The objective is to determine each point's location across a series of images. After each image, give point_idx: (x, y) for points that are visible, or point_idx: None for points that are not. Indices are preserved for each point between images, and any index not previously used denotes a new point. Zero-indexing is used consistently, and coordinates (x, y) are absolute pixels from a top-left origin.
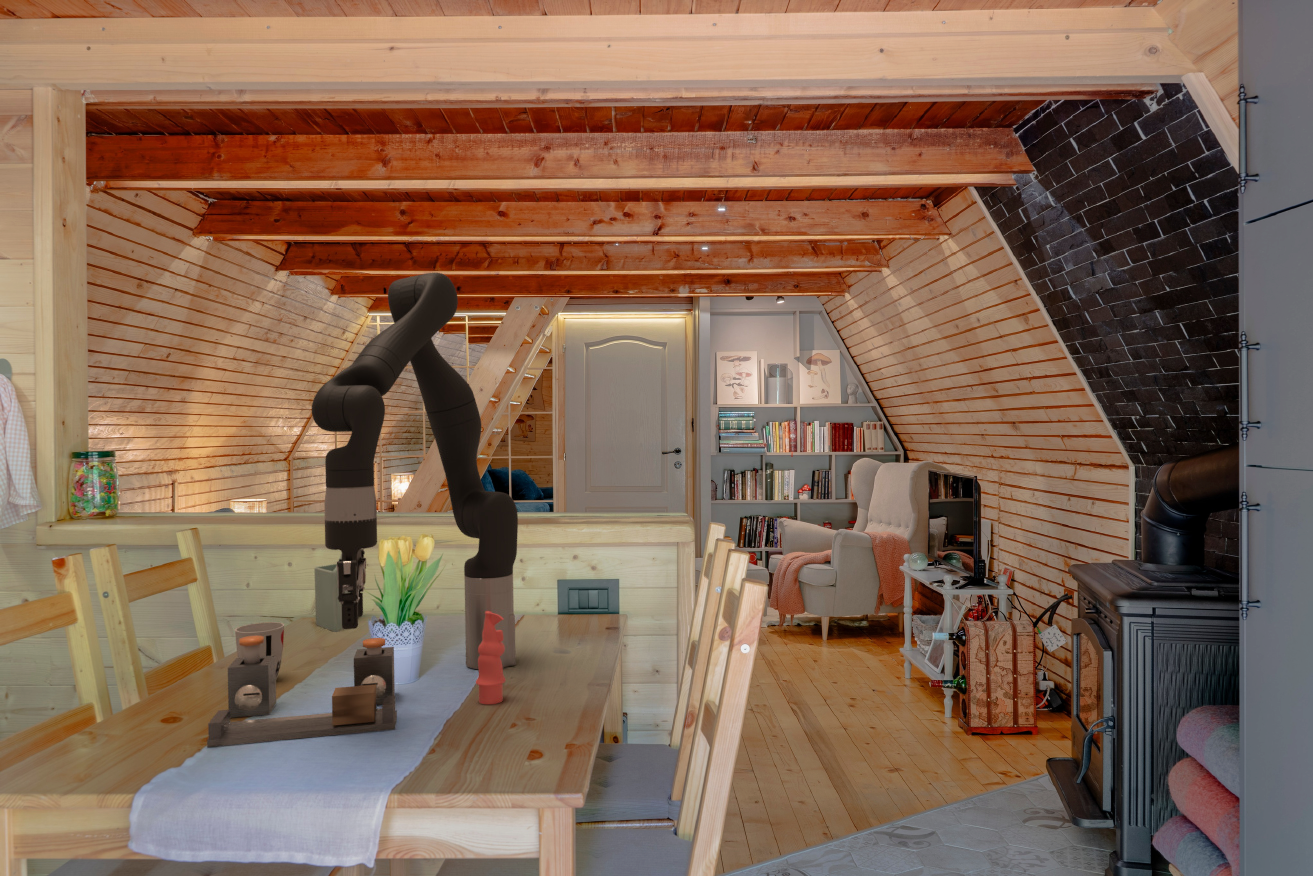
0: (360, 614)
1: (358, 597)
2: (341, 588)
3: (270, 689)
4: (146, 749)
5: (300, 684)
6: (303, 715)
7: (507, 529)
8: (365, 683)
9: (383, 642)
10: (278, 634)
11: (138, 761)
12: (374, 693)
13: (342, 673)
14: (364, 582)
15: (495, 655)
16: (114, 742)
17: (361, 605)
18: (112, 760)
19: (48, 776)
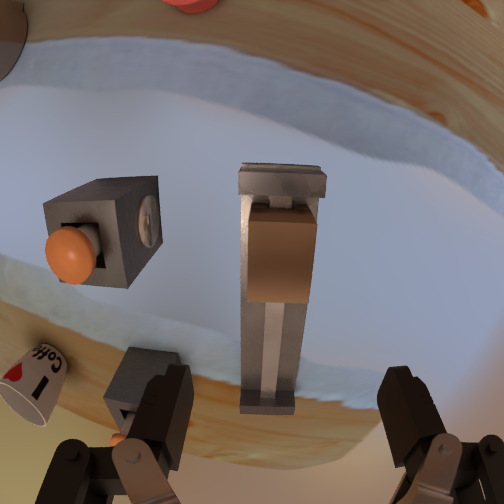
0: (187, 373)
1: (452, 450)
2: (483, 500)
3: (157, 374)
4: (273, 429)
5: (54, 320)
6: (266, 323)
7: None
8: (148, 240)
9: (73, 232)
10: (22, 385)
11: (307, 427)
12: (298, 220)
13: (12, 270)
14: (77, 455)
15: None
16: (241, 446)
17: (179, 399)
18: (294, 440)
19: (313, 457)
